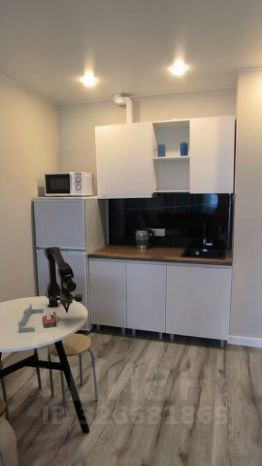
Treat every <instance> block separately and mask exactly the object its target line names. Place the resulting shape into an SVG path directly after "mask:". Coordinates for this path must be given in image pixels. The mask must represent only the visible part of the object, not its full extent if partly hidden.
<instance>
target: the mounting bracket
mask: <svg viewBox="0 0 262 466" xmlns="http://www.w3.org/2000/svg"><path fill="white" fill-rule="evenodd" d="M32 314H44V308H43V307H42V308H33V304H32V303H28V306H27V307H26V308H25V309H24V311H23V314H22V315H21V316H20V319H18V320H19V321H17V323H18V333H29V332H30V333H31V332H35V326H34V325H32V326H30V325H29V326H26V325H27V323H28V322H29V319H30V318H31V316H32Z"/></svg>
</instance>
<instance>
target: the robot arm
mask: <svg viewBox="0 0 262 466" xmlns="http://www.w3.org/2000/svg"><path fill="white" fill-rule="evenodd" d="M43 254H44V256H45V258H46V260H47V267H48V280H49V281H48V283H47V286H46V291H45V293H44V294H45V295H44V296H45V297H46V299H48V305H47V307H48V308H53V307H55V308H57V307H58V306H59V305H58V304H60V305H62V306H63V308H64V310H65V313H67V314H68V312H69V309H70V306H71V304H73V302H74V300H75V302H76V303H80V302H81V303H82V302H83V300H84V299H83V298H84V296H83V293H77V294H75V295H73V294H72V292H75V291H76V289H77V284H76V282H74V280H73V279H74V278H75V274H74V271H73V268H72V266H70V264H69V263H68V262H66V260H65V259H64V257H63V254H62V253H61V250H60V247H59V246H50V247H45V248H44V250H43ZM56 265H57V266H56ZM57 276H58V278H59V282H60V283H58V282H57ZM59 284H60V285H59Z"/></svg>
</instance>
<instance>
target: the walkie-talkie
mask: <svg viewBox="0 0 262 466" xmlns="http://www.w3.org/2000/svg"><path fill="white" fill-rule="evenodd" d="M41 320H42V324H43V328H44V329H48V328H54V327H57V322H59V319H58V315H57V314H56V311H53V314H51V313H47V314H45V315H43V316H42V319H41Z"/></svg>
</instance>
